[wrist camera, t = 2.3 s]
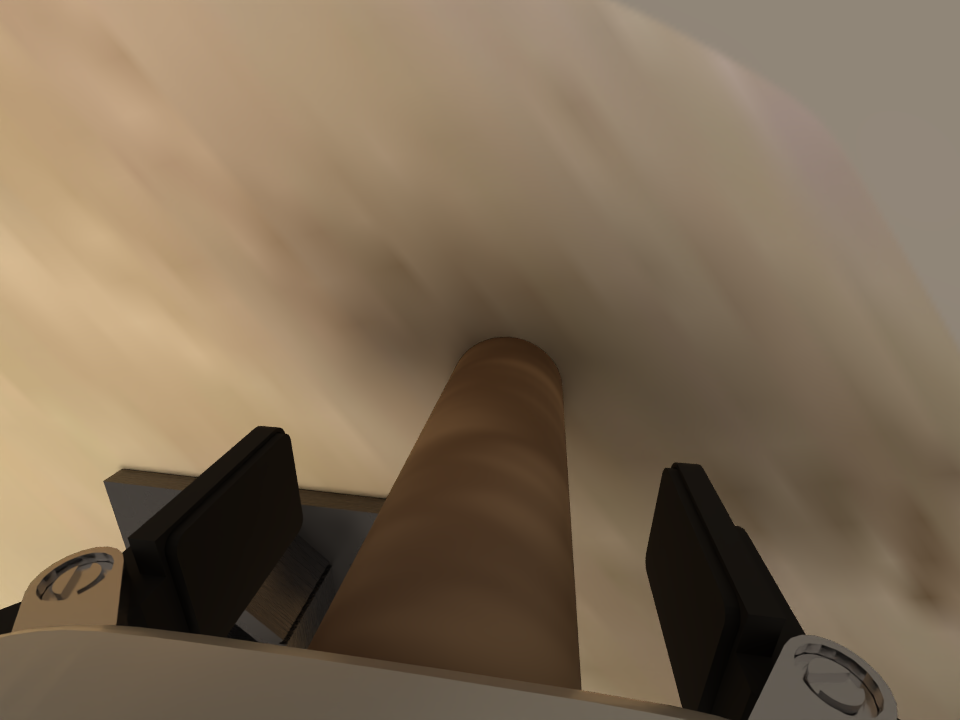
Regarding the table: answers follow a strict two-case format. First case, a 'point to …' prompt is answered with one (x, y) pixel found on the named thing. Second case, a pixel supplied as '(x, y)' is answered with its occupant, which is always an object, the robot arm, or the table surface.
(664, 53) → the table surface
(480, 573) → the brown wooden cylinder
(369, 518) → the bracket
